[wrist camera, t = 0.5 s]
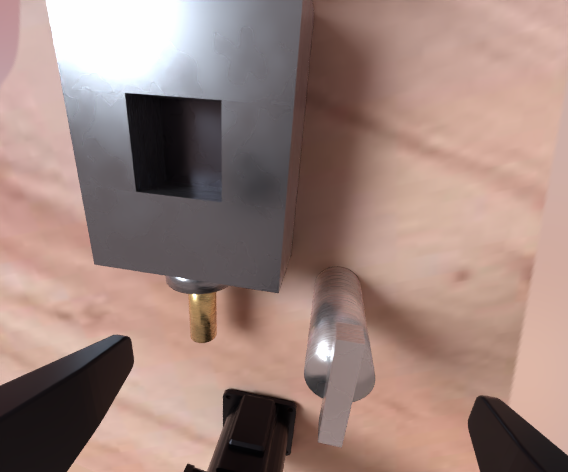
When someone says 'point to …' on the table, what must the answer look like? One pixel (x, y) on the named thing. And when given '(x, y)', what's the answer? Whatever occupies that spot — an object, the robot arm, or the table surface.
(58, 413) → the robot arm
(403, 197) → the table surface
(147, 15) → the block
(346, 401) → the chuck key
